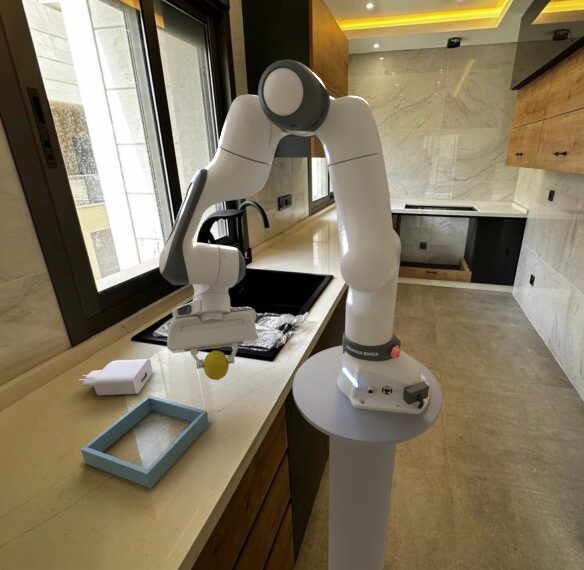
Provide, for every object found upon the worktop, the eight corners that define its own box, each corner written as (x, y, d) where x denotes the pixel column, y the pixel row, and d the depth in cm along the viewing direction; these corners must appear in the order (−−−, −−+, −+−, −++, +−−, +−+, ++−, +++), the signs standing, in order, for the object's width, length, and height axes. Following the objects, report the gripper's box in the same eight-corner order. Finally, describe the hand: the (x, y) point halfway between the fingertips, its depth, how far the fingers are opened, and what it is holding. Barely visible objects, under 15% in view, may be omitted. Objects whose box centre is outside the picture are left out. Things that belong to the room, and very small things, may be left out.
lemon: (217, 370, 81) (214, 342, 79) (235, 376, 79) (231, 348, 76) (200, 382, 77) (196, 353, 74) (218, 389, 75) (214, 360, 72)
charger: (94, 374, 86) (153, 372, 87) (71, 398, 77) (136, 395, 78) (89, 359, 84) (149, 357, 85) (65, 382, 75) (132, 379, 76)
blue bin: (209, 423, 70) (206, 411, 69) (150, 488, 56) (146, 474, 55) (151, 407, 75) (149, 394, 73) (85, 463, 61) (80, 449, 60)
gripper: (254, 309, 87) (260, 361, 81) (171, 319, 81) (171, 375, 76) (255, 301, 81) (261, 356, 76) (165, 310, 76) (165, 370, 70)
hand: (215, 365), depth 76 cm, fingers closed on lemon, 5 cm apart
